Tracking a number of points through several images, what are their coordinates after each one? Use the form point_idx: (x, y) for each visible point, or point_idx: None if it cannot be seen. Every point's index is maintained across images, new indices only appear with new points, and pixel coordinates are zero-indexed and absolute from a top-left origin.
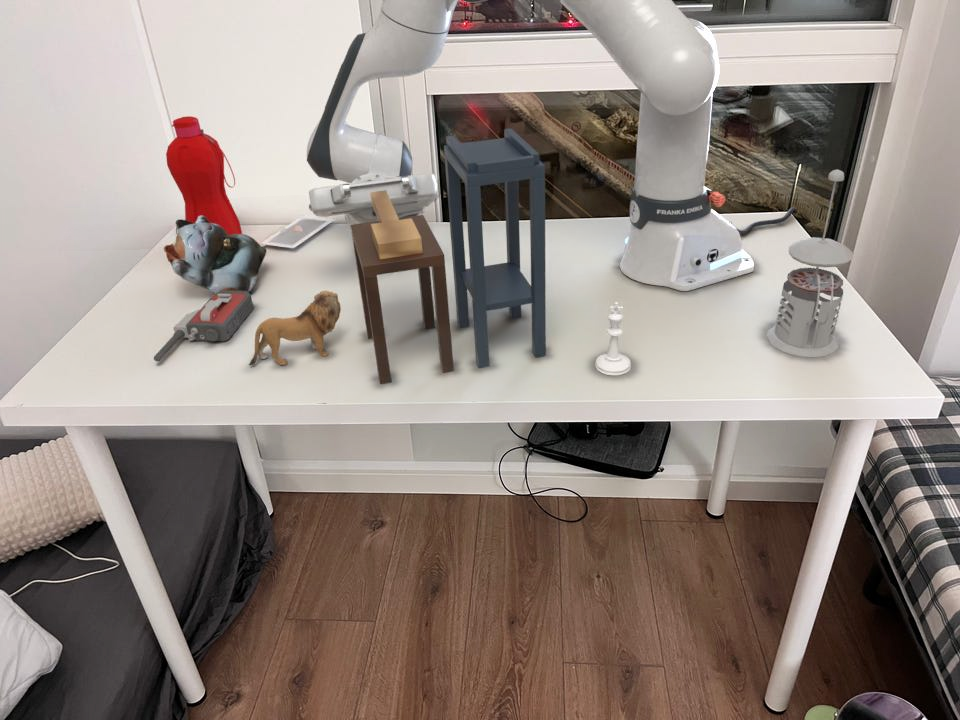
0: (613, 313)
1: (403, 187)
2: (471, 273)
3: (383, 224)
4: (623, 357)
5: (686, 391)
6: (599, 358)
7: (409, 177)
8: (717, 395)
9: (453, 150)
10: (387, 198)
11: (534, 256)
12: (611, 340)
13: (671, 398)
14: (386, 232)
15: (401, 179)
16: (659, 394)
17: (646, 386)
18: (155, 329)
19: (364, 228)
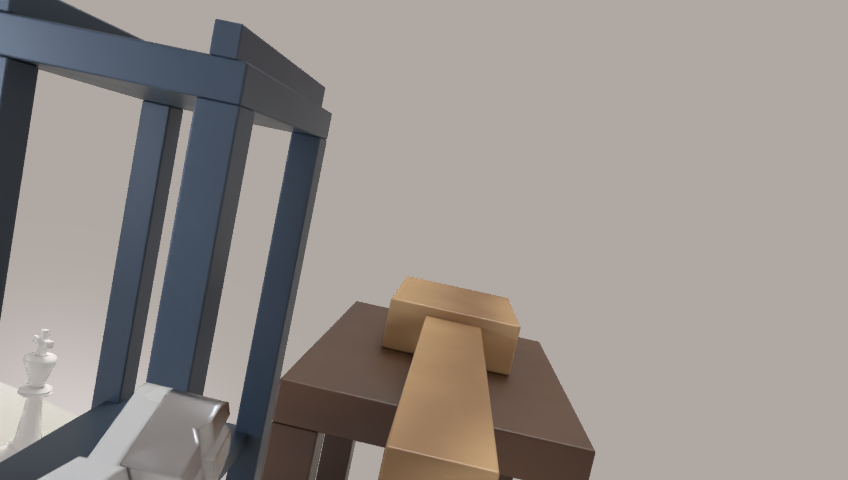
0: (42, 354)
1: (223, 462)
2: (282, 349)
3: (482, 314)
4: (5, 446)
5: (21, 403)
6: None
7: (168, 388)
8: (3, 387)
9: (278, 70)
10: (414, 391)
11: (150, 289)
12: (41, 407)
13: (56, 406)
14: (481, 302)
15: (199, 452)
16: (58, 415)
17: (49, 427)
18: None
19: (535, 415)
